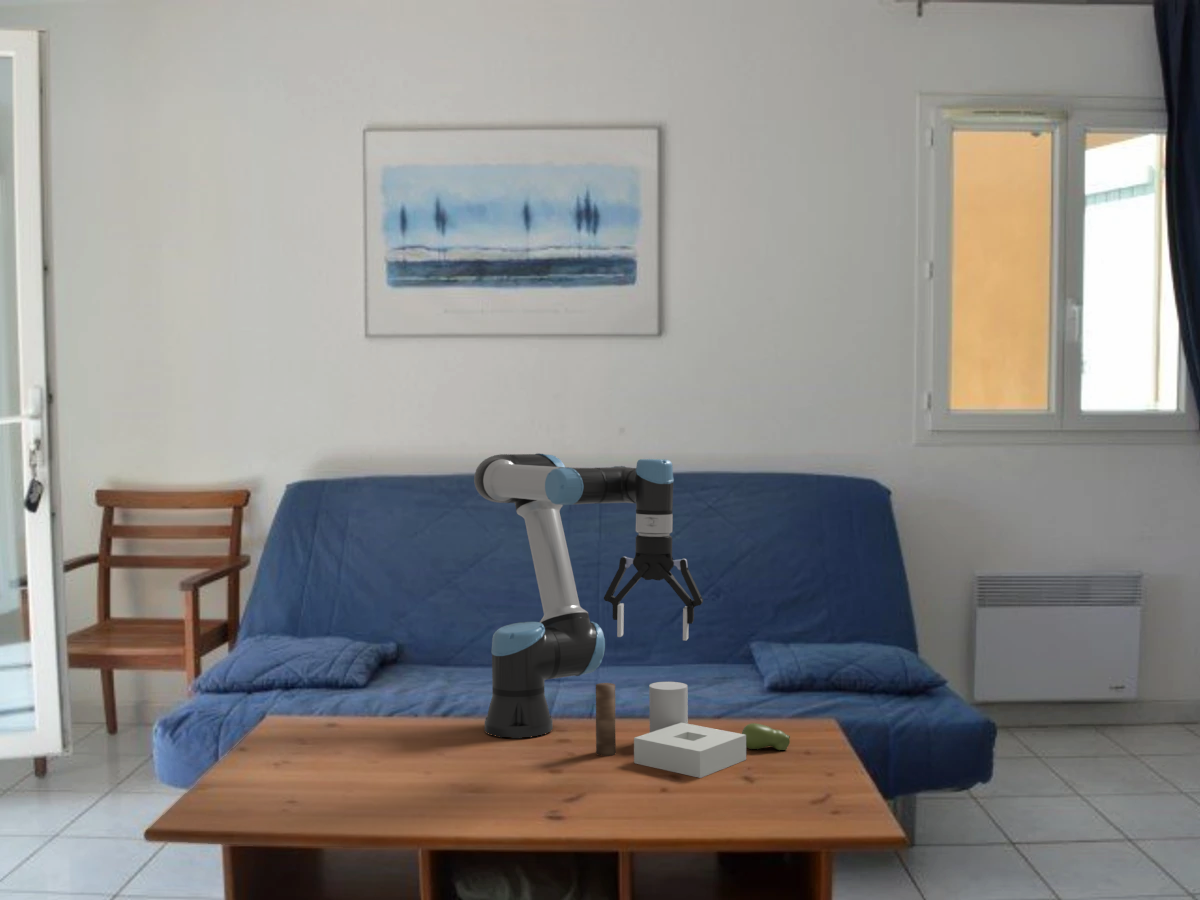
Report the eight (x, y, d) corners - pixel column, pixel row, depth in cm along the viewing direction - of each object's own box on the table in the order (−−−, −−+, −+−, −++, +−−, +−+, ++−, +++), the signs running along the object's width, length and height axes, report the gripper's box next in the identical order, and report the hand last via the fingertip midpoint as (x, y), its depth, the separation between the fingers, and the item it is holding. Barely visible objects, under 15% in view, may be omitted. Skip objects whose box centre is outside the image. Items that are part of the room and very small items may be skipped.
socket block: (634, 763, 217) (633, 737, 217) (681, 746, 229) (681, 722, 229) (700, 778, 207) (700, 751, 207) (746, 759, 219) (746, 734, 219)
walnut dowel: (592, 753, 224) (591, 685, 224) (604, 749, 227) (604, 682, 227) (607, 756, 222) (606, 687, 222) (619, 752, 225) (619, 684, 225)
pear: (742, 718, 230) (789, 726, 230) (738, 743, 230) (785, 751, 230) (745, 725, 224) (793, 733, 224) (741, 750, 224) (789, 758, 224)
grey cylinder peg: (688, 737, 237) (687, 682, 237) (687, 747, 229) (687, 690, 229) (650, 736, 237) (650, 681, 237) (648, 746, 229) (648, 689, 229)
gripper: (590, 534, 223) (589, 637, 223) (712, 538, 217) (711, 644, 218) (598, 530, 230) (597, 631, 231) (716, 534, 225) (715, 637, 225)
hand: (652, 637), depth 224 cm, fingers open, 13 cm apart
